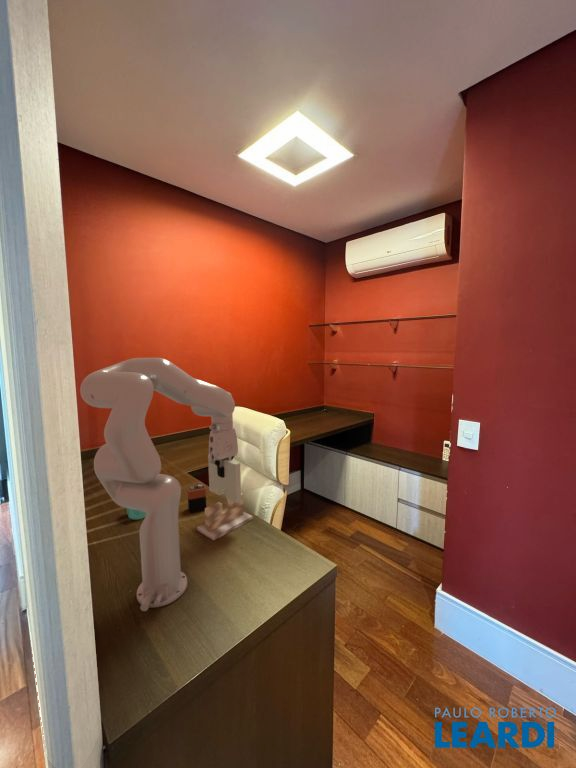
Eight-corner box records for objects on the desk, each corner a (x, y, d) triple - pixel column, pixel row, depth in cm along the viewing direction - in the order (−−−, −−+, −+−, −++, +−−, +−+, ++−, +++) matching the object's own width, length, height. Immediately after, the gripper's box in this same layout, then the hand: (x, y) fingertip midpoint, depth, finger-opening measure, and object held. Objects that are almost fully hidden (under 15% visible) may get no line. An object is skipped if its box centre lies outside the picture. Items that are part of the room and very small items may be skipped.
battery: (206, 509, 126) (205, 486, 125) (189, 513, 124) (188, 489, 123) (205, 505, 130) (204, 482, 129) (188, 508, 128) (187, 485, 127)
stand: (213, 540, 105) (212, 514, 104) (196, 530, 111) (195, 505, 111) (252, 519, 119) (252, 495, 118) (235, 510, 125) (235, 488, 124)
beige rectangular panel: (236, 503, 108) (235, 464, 107) (209, 491, 118) (208, 455, 117) (241, 501, 110) (240, 462, 108) (213, 489, 120) (212, 454, 119)
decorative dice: (126, 514, 124) (125, 495, 123) (147, 507, 129) (146, 489, 128) (131, 522, 118) (130, 502, 117) (153, 515, 123) (152, 495, 122)
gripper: (210, 431, 103) (212, 485, 105) (245, 423, 115) (247, 471, 117) (197, 428, 108) (199, 479, 110) (232, 421, 120) (234, 467, 122)
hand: (224, 475), depth 113 cm, fingers closed on beige rectangular panel, 2 cm apart
